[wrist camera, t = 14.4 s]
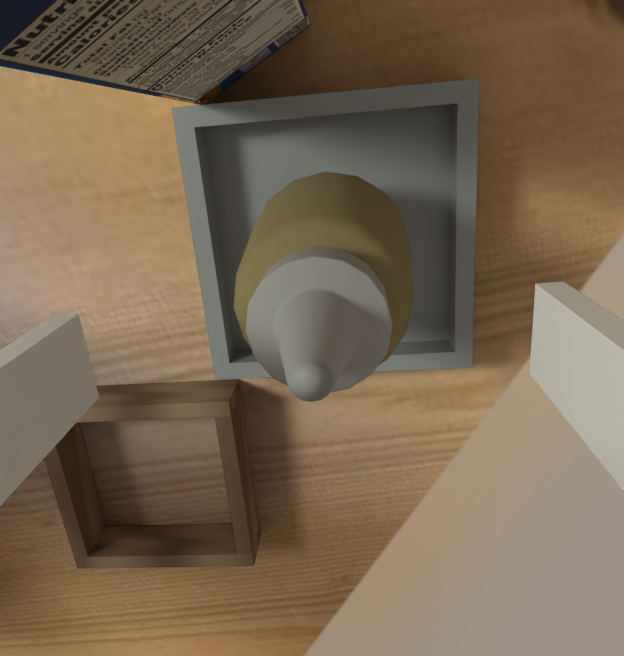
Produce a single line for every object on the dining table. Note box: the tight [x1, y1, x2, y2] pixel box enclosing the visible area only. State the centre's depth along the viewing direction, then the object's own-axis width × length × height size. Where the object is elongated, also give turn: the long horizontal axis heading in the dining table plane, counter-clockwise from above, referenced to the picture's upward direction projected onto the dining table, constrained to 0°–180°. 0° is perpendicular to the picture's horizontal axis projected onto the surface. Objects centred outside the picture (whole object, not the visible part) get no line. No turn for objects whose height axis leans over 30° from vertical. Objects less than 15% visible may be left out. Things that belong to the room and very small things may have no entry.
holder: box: [44, 379, 261, 568], centre depth 35 cm, size 12×12×3 cm
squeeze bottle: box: [234, 171, 413, 402], centre depth 21 cm, size 8×8×18 cm
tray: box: [172, 78, 480, 379], centre depth 29 cm, size 15×15×2 cm
